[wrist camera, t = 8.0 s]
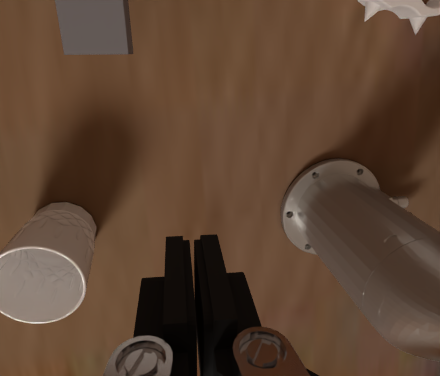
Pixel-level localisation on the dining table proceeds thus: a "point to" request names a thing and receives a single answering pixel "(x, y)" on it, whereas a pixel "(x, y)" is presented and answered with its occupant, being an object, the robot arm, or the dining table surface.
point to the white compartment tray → (404, 9)
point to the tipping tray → (94, 26)
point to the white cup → (47, 264)
